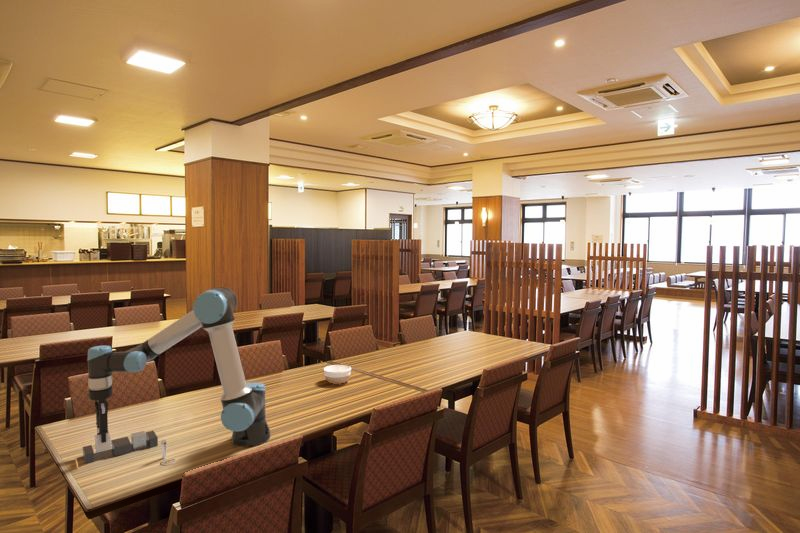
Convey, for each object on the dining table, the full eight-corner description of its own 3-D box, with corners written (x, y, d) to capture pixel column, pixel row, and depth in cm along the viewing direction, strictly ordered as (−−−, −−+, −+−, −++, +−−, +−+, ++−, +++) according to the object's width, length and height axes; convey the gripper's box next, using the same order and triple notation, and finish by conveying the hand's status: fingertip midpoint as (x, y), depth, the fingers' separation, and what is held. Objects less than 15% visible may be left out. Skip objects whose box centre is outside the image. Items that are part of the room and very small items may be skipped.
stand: (164, 466, 169) (154, 459, 174) (177, 461, 172) (168, 455, 177) (163, 446, 168) (154, 440, 173) (177, 441, 172) (167, 435, 177)
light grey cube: (146, 446, 183) (145, 434, 183) (133, 450, 180) (132, 437, 180) (144, 442, 187) (143, 430, 186) (131, 445, 184) (131, 433, 184)
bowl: (356, 382, 267) (356, 369, 266) (331, 387, 258) (331, 373, 257) (343, 376, 280) (343, 363, 280) (319, 380, 271) (318, 367, 271)
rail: (157, 446, 184) (157, 437, 184) (85, 465, 169) (84, 454, 169) (153, 440, 190) (153, 430, 190) (83, 457, 175) (82, 446, 175)
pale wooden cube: (96, 452, 173) (96, 439, 173) (95, 448, 176) (94, 435, 176) (110, 449, 176) (110, 436, 175) (109, 444, 179) (108, 432, 179)
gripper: (115, 391, 170) (117, 453, 171) (109, 379, 184) (111, 437, 185) (91, 395, 165) (93, 459, 167) (86, 383, 179) (88, 442, 180)
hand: (102, 447), depth 176 cm, fingers closed on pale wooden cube, 4 cm apart
